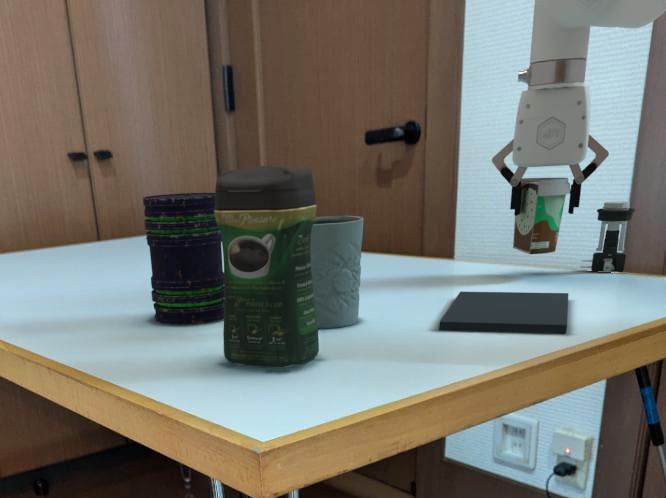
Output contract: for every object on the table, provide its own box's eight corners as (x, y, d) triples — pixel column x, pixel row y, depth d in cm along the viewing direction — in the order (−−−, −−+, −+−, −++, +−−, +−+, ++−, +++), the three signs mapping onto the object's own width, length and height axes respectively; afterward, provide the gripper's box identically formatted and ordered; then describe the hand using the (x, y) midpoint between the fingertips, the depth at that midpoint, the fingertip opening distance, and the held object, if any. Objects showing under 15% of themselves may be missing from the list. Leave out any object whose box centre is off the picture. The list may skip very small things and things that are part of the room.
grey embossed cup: (356, 330, 95) (357, 222, 90) (273, 329, 97) (270, 224, 92) (367, 313, 104) (368, 214, 98) (290, 313, 106) (288, 216, 101)
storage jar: (215, 326, 101) (206, 197, 94) (142, 325, 103) (129, 199, 96) (236, 310, 109) (230, 191, 103) (169, 310, 112) (158, 194, 105)
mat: (567, 300, 106) (568, 293, 105) (566, 334, 89) (567, 324, 89) (459, 298, 110) (460, 291, 110) (438, 330, 93) (439, 321, 93)
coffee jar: (329, 355, 85) (328, 162, 76) (295, 374, 79) (290, 166, 70) (250, 348, 89) (241, 165, 81) (212, 365, 83) (198, 169, 75)
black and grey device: (579, 273, 125) (588, 204, 120) (579, 268, 129) (588, 201, 125) (626, 273, 123) (637, 203, 118) (624, 268, 127) (635, 200, 123)
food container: (575, 253, 116) (584, 178, 112) (532, 255, 116) (540, 180, 112) (549, 245, 127) (556, 176, 123) (510, 247, 128) (516, 178, 123)
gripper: (490, 81, 112) (481, 218, 119) (625, 70, 106) (607, 214, 114) (494, 84, 118) (486, 213, 126) (622, 73, 112) (605, 210, 120)
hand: (543, 213), depth 120 cm, fingers closed on food container, 7 cm apart
